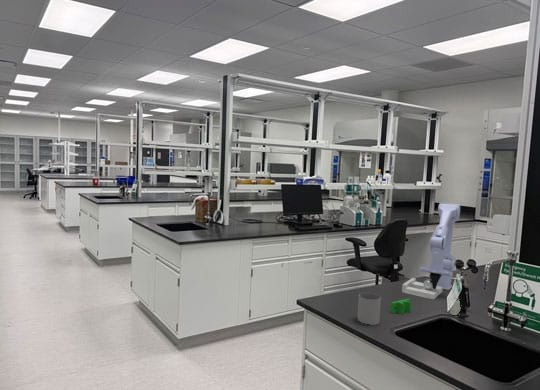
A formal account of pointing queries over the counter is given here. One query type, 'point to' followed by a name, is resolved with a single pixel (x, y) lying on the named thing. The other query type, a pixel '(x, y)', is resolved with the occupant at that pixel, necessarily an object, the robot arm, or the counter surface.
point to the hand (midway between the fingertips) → (434, 288)
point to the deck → (420, 289)
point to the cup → (369, 308)
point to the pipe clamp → (401, 306)
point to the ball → (428, 284)
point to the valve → (455, 308)
